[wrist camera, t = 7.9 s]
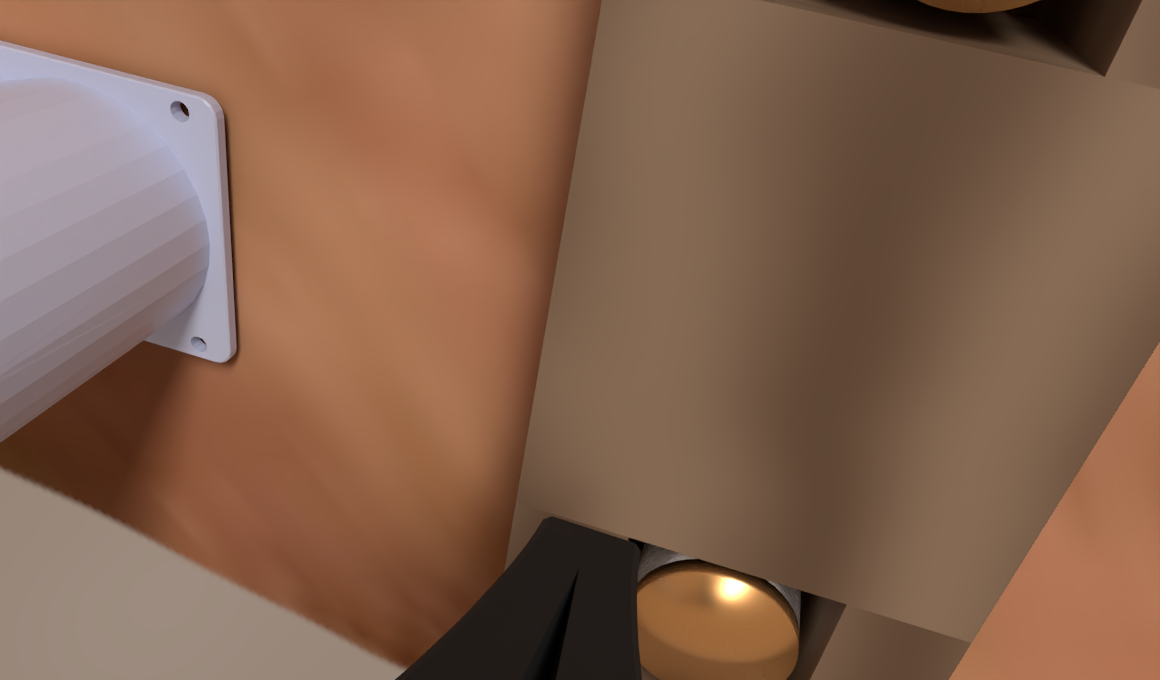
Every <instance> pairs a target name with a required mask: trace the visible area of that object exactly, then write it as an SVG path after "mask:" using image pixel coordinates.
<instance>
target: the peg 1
mask: <svg viewBox="0 0 1160 680" xmlns="http://www.w3.org/2000/svg"><path fill="white" fill-rule="evenodd" d="M800 602H801V590H798V589H795V588H792V587H788V586H785V585H782V584H779V583H775V582H772V581H769V580H766V579H762V578H759V577H756V576H753V575H749V574H746V573H743V572H740V571H737V570H733V569H730V568H727V567H724V566H720V565H717V564H714V563H711V562H707V561H704V560H701V559H698V558H694V557H691V556H688V555H685V554H681V553H678V552H675V551H672V550H668V549H665V548H662V547H659V546H655V545H652V544H649V543H646V542H644V546H643V550H642V554H641V557H640V561H639V568H638V581H637V621H638V641H639V653H640V663H641V664H642V665H643V667H644V668H646V669H647V670H648V671H649V672H650V673H651V674H653V675H654V676H655V677H657V678H658V679H659V680H786V679H787V678H788V677H789V676H790V675H791V673H792V671H793V670H794V668H795V665H796V662H797V659H798V652H799V628H800Z"/></svg>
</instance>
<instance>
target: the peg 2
mask: <svg viewBox="0 0 1160 680" xmlns="http://www.w3.org/2000/svg"><path fill="white" fill-rule="evenodd" d="M919 1H921V2H923V3H925V4H927V5H930V6H934V7H937V8H941V9H944V10H949V11H956V12H963V13H988V12H997V11H1005V10H1009V9H1013V8H1017V7H1022V6H1025V5H1028V4H1031V3H1034V2H1036V1H1039V0H919Z"/></svg>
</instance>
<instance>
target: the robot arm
mask: <svg viewBox="0 0 1160 680" xmlns="http://www.w3.org/2000/svg"><path fill="white" fill-rule="evenodd" d="M181 102H182V103H183V104H184V105H185V106H186V107H187V108H188V111H189V117H188V116H186V115H185V114H184V113H183V111H182V109H181V106H180V103H181ZM200 338H202V339H203V340H204V341H205V343H206V344H204V343H203V342H202V341H201V340H200ZM143 340H144V341H147V342H151V343H154V344H157V345H161V346H164V347H167V348H171V349H174V350H177V351H181V352H184V353H187V354H191V355H194V356H197V357H201V358H204V359H207V360H211V361H214V362H219V363H223V362H226V361H228V360H229V359H230V358H231V357H232V356H233V355H234V354H235V353H236V349H237V345H236V327H235V308H234V290H233V272H232V253H231V235H230V216H229V198H228V179H227V161H226V143H225V124H224V115H223V110H222V108H221V106H220V105H219V103H218V102H217V101H216V100H215V99H214V98H213V97H212V96H210V95H208V94H206V93H202V92H198V91H195V90H191V89H187V88H183V87H179V86H175V85H171V84H167V83H164V82H160V81H156V80H152V79H148V78H144V77H140V76H136V75H132V74H129V73H125V72H121V71H117V70H113V69H109V68H105V67H101V66H98V65H94V64H90V63H86V62H82V61H78V60H74V59H70V58H66V57H63V56H59V55H55V54H51V53H47V52H43V51H39V50H35V49H32V48H28V47H24V46H20V45H16V44H12V43H8V42H4V41H0V443H1V442H2V441H3V440H5V439H6V438H8V437H9V436H10V435H12V434H13V433H15V432H16V431H17V430H19V429H20V428H22V427H23V426H24V425H26V424H27V423H29V422H30V421H31V420H33V419H34V418H36V417H37V416H38V415H40V414H41V413H43V412H44V411H45V410H47V409H48V408H50V407H51V406H52V405H54V404H55V403H57V402H58V401H59V400H61V399H62V398H64V397H65V396H66V395H68V394H69V393H71V392H72V391H73V390H75V389H76V388H78V387H79V386H80V385H82V384H83V383H85V382H86V381H87V380H89V379H90V378H92V377H93V376H94V375H96V374H97V373H99V372H100V371H101V370H103V369H104V368H105V367H107V366H108V365H110V364H111V363H112V362H114V361H115V360H117V359H118V358H119V357H121V356H122V355H124V354H125V353H126V352H128V351H129V350H131V349H132V348H133V347H135V346H136V345H138V344H139V343H140V342H142V341H143ZM640 554H641V551H640V549H639V548H638V546H637V545H636V543H633V542H630V541H627V540H624V539H621V538H618V537H615V536H612V535H609V534H606V533H603V532H600V531H596V530H593V529H590V528H587V527H584V526H581V525H578V524H575V523H572V522H569V521H566V520H562V519H559V518H556V517H553V516H551V517H548V518H546V519H543V520H542V522H541V524H540V525H539V527H538V528H537V530H536V532H535V533H534V534H533V536H532V537H531V539H530V540H529V541H528V543H527V544H526V546H525V547H524V548H523V550H522V551H521V552H520V553H519V555H518V556H517V557H516V558H515V560H514V561H513V562H512V563H511V565H510V566H509V567H508V568H507V569H506V570H505V572H504V573H503V574H502V575H501V576H500V577H499V579H498V580H497V581H496V582H495V583H494V584H493V585H492V586H491V587H490V589H489V590H488V591H487V592H486V593H485V594H484V595H483V596H482V597H481V598H480V599H479V600H478V601H477V602H476V604H475V605H474V606H473V607H472V608H471V609H470V610H469V611H468V612H467V613H466V614H465V615H464V616H463V617H462V618H461V619H460V620H459V621H458V622H457V623H456V624H455V625H454V626H453V627H452V628H451V629H450V630H449V631H448V632H447V633H446V634H445V635H444V636H443V637H442V638H440V639H439V640H438V641H437V642H436V643H435V644H434V645H433V646H432V647H431V648H430V649H429V650H428V651H427V652H426V653H425V654H424V655H422V656H421V657H420V658H419V659H418V660H417V661H416V662H415V663H414V664H413V665H411V666H410V667H409V668H408V669H407V670H406V671H405V672H403V673H402V674H401V675H400V676H399V677H398V678H397V679H395V680H642V673H641V663H640V653H639V641H638V621H637V581H638V568H639V560H640Z"/></svg>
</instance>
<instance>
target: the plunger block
mask: <svg viewBox="0 0 1160 680" xmlns="http://www.w3.org/2000/svg"><path fill="white" fill-rule="evenodd" d="M1159 342H1160V0H1042V3H1041V5H1040V7H1039V10H1038V12H1037V14H1036V17H1035V19H1034V18H1029V17H1024V16H1020V15H1015V14H1011V13H1006V12H1001V11H997V12H988V13H963V12H956V11H949V10H944V9H941V8H937V7H934V6H930V5H927V4H925V3H923V2H921V1H919V0H602V2H601V8H600V14H599V19H598V25H597V31H596V37H595V43H594V49H593V54H592V60H591V66H590V72H589V78H588V84H587V90H586V95H585V101H584V107H583V113H582V119H581V125H580V130H579V136H578V142H577V148H576V154H575V160H574V165H573V171H572V177H571V183H570V189H569V195H568V200H567V206H566V212H565V218H564V224H563V230H562V235H561V241H560V247H559V253H558V259H557V265H556V270H555V276H554V282H553V288H552V294H551V300H550V305H549V311H548V317H547V323H546V329H545V335H544V341H543V346H542V352H541V358H540V364H539V370H538V376H537V381H536V387H535V393H534V399H533V405H532V411H531V416H530V422H529V428H528V434H527V440H526V446H525V451H524V457H523V463H522V469H521V475H520V481H519V486H518V492H517V498H516V504H515V510H514V516H513V521H512V527H511V533H510V539H509V545H508V551H507V557H506V562H505V568H504V572H505V570H506V569H507V568H508V567H509V566H510V565H511V563H512V562H513V561H514V560H515V558H516V557H517V556H518V555H519V553H520V552H521V551H522V550H523V548H524V547H525V546H526V544H527V543H528V541H529V540H530V539H531V537H532V536H533V534H534V533H535V532H536V530H537V528H538V527H539V525H540V524H541V522H542V520H543V519H546V518H548V517H551V516H553V517H556V518H559V519H562V520H566V521H569V522H572V523H575V524H578V525H581V526H584V527H587V528H590V529H593V530H596V531H600V532H603V533H606V534H609V535H612V536H615V537H618V538H621V539H624V540H627V541H630V542H633V543H636V545H637V546H638V548H639V549H640V551H641V554H642V550H643V546H644V543H642V542H646V543H649V544H652V545H655V546H659V547H662V548H665V549H668V550H672V551H675V552H678V553H681V554H685V555H688V556H691V557H694V558H698V559H701V560H704V561H707V562H711V563H714V564H717V565H720V566H724V567H727V568H730V569H733V570H737V571H740V572H743V573H746V574H749V575H753V576H756V577H759V578H762V579H766V580H769V581H772V582H775V583H779V584H782V585H785V586H788V587H792V588H795V589H798V590H801V602H800V628H799V652H798V659H797V662H796V665H795V668H794V670H793V671H792V673H791V675H790V676H789V677H788V678H787V679H786V680H949V678H950V677H951V675H952V673H953V672H954V670H955V669H956V667H957V665H958V664H959V662H960V661H961V659H962V657H963V656H964V654H965V653H966V651H967V649H968V648H969V646H970V645H971V643H972V641H973V640H974V638H975V637H976V635H977V633H978V632H979V630H980V629H981V627H982V625H983V624H984V622H985V621H986V619H987V617H988V616H989V614H990V612H991V611H992V609H993V608H994V606H995V604H996V603H997V601H998V600H999V598H1000V596H1001V595H1002V593H1003V592H1004V590H1005V588H1006V587H1007V585H1008V584H1009V582H1010V580H1011V579H1012V577H1013V576H1014V574H1015V572H1016V571H1017V569H1018V568H1019V566H1020V564H1021V563H1022V561H1023V560H1024V558H1025V556H1026V555H1027V553H1028V552H1029V550H1030V548H1031V547H1032V545H1033V544H1034V542H1035V540H1036V539H1037V537H1038V536H1039V534H1040V532H1041V531H1042V529H1043V528H1044V526H1045V524H1046V523H1047V521H1048V520H1049V518H1050V516H1051V515H1052V513H1053V512H1054V510H1055V508H1056V507H1057V505H1058V504H1059V502H1060V500H1061V499H1062V497H1063V496H1064V494H1065V492H1066V491H1067V489H1068V488H1069V486H1070V484H1071V483H1072V481H1073V479H1074V478H1075V476H1076V475H1077V473H1078V471H1079V470H1080V468H1081V467H1082V465H1083V463H1084V462H1085V460H1086V459H1087V457H1088V455H1089V454H1090V452H1091V451H1092V449H1093V447H1094V446H1095V444H1096V443H1097V441H1098V439H1099V438H1100V436H1101V435H1102V433H1103V431H1104V430H1105V428H1106V427H1107V425H1108V423H1109V422H1110V420H1111V419H1112V417H1113V415H1114V414H1115V412H1116V411H1117V409H1118V407H1119V406H1120V404H1121V403H1122V401H1123V399H1124V398H1125V396H1126V395H1127V393H1128V391H1129V390H1130V388H1131V387H1132V385H1133V383H1134V382H1135V380H1136V379H1137V377H1138V375H1139V374H1140V372H1141V371H1142V369H1143V367H1144V366H1145V364H1146V363H1147V361H1148V359H1149V358H1150V356H1151V355H1152V353H1153V351H1154V350H1155V348H1156V346H1157V345H1158V343H1159ZM630 538H633V539H636V540H639V541H642V542H638V541H635V540H632V539H630ZM641 554H640V557H641ZM639 561H640V560H639ZM641 673H642V680H659V679H658V678H657V677H655V676H654V675H653V674H651V673H650V672H649V671H648V670H647V669H646V668H644V667H643V665H642V664H641Z"/></svg>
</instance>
